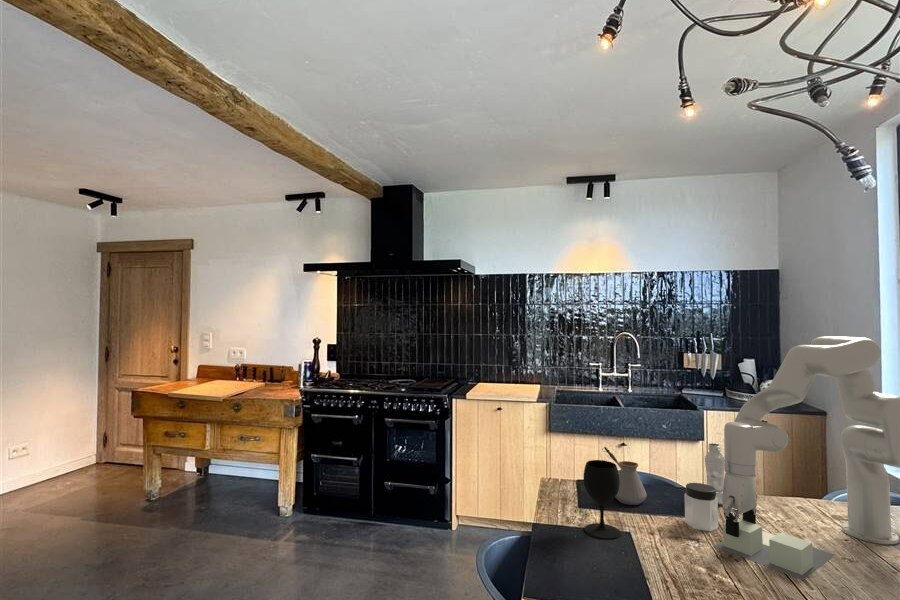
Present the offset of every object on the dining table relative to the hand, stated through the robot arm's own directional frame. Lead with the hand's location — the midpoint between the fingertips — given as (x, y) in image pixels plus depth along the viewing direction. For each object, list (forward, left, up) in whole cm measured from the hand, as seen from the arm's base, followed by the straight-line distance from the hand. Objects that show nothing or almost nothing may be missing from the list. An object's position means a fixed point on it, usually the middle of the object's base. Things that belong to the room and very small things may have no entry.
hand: (741, 531), depth 130 cm
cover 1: (0, 0, -4) cm, 4 cm away
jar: (-5, -14, -5) cm, 16 cm away
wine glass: (+23, -29, -5) cm, 37 cm away
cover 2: (0, +12, -4) cm, 12 cm away
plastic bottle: (-28, -21, -5) cm, 36 cm away
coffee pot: (-7, -44, -5) cm, 45 cm away
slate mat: (-5, +6, -5) cm, 9 cm away
